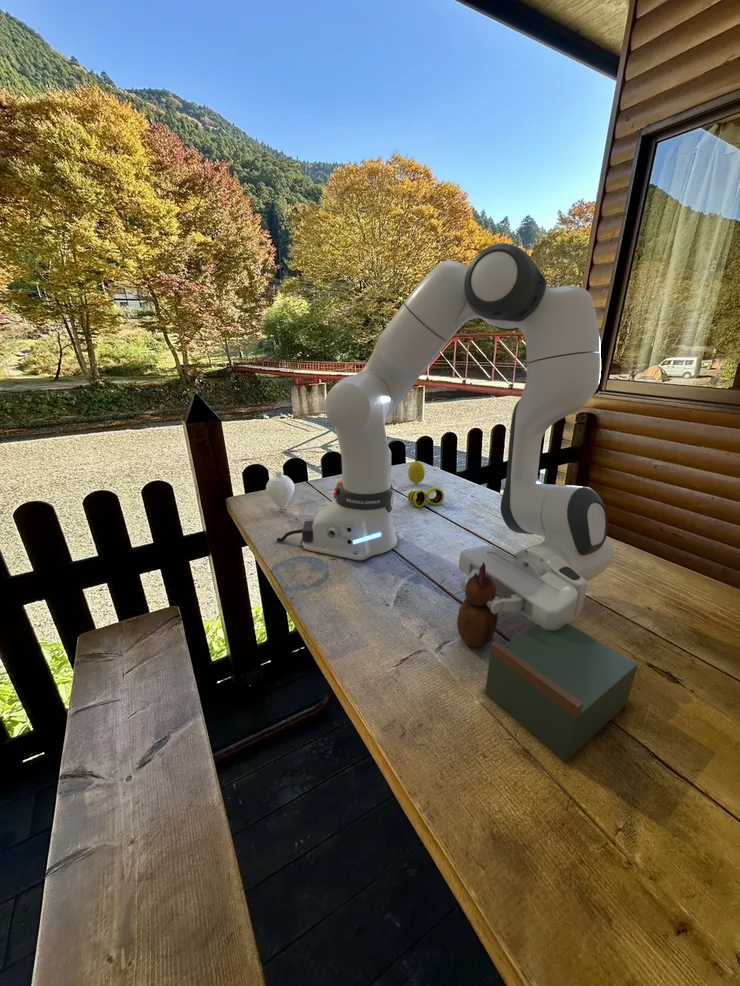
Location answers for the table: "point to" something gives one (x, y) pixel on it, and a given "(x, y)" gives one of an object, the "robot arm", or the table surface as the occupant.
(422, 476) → the lemon
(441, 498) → the opera glasses
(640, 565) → the table surface
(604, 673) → the step stand
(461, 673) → the table surface
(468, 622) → the wooden figurine
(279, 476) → the spinning top
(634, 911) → the table surface
